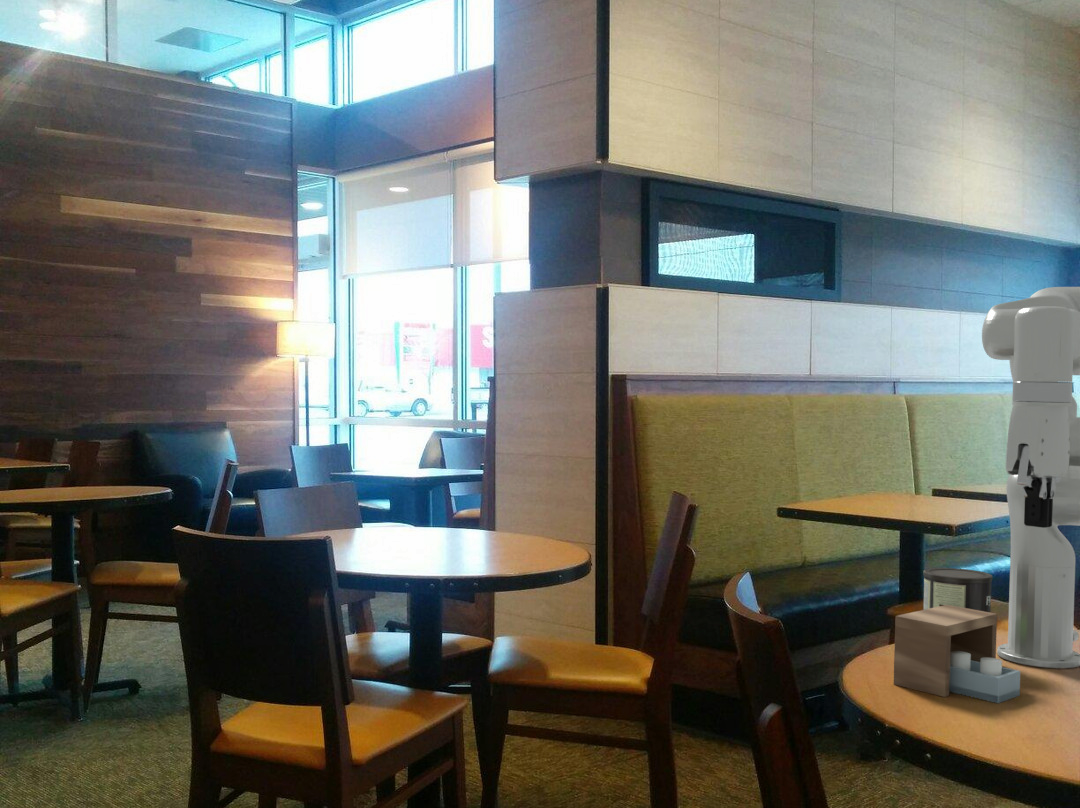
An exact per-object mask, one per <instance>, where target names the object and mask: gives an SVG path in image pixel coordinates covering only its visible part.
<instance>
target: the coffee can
mask: <svg viewBox="0 0 1080 808" xmlns="http://www.w3.org/2000/svg"><path fill="white" fill-rule="evenodd" d="M923 578H924V579H923V610H925V609H930V608H934V607H939V606H943V605H951V606H956V607H962V608H968V609H973V610H979V611H984V612H990V613H992V611H991V608H992V607H991V604H992V603H991V602H992V582H993V575H992V574H990V573H987V572H985V571H979V570H974V569H966V568H957V567H956V568H955V567H932V568H926V569H924V570H923Z"/></svg>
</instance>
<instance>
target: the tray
mask: <svg viewBox="0 0 1080 808" xmlns="http://www.w3.org/2000/svg"><path fill="white" fill-rule="evenodd" d="M1002 665H1003V660H1001V659H1000V658H989V657H984V658H981V659H980V662H977V661H972V660H971V654H970V653H967V652H963V651H951V652H950V683H949V693H952V694H957V695H961V694H962V695H961V696H965V695H966V697H969V696H971V697H970V698H973V697H975V698H974V699H977V698H979V699H978V700H981V699H983V700H982V701H985V700H987V701H986V702H990V701H991V703H994V702H995V703H994V704H1001V703H1003V702H1006V701H1008V700H1011V699H1013V698H1014V699H1015V698H1016V697H1020V695H1021V694H1020V693H1021V670H1018V669H1013V668H1009V667H1004V666H1002Z"/></svg>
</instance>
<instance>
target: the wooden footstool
mask: <svg viewBox="0 0 1080 808" xmlns="http://www.w3.org/2000/svg"><path fill="white" fill-rule="evenodd" d="M894 622H895V623H894V625H895V626H894V655H893V656H894V657H893V659H894V661H893V685H895V686H899V687H903V688H908V689H911V690H915V691H919V692H923V693H928V694H931V695H934V696H939V697H942V698H946V697H948V696H950V692H949V683H950V652H951V651H963V652H967V653H970V654H971V660H972V661H977V662H980V659H981V658H984V657H989V658H996V657H997V655H996V654H997V628H998V627H997V625H998V613H995V612H991V613H990V612H984V611H979V610H973V609H968V608H962V607H956V606H951V605H943V606H939V607H934V608H930V609H925V610H924V609H921V610H917V611H912V612H908V613H903V614H898V615H895V620H894ZM996 659H997V658H996Z"/></svg>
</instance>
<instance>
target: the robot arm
mask: <svg viewBox="0 0 1080 808" xmlns="http://www.w3.org/2000/svg"><path fill="white" fill-rule="evenodd" d="M981 341H982V346H983V349H984V351H985V354H986V355H987V356H988V357H989V358H991V359H993V360H997V361H998V360H1000V361H1009V369H1010V374H1011V379H1012V400H1011V401H1012V403H1011V404H1012V407H1011V413H1010V417H1009V422H1008V423H1009V424H1008V431H1007V443H1006V453H1005V472H1007V474H1008V477H1007V479H1006V489H1005V490H1006V500H1007V506H1008V513H1009V516H1008V517H1009V524H1010V525H1009V526H1010V556H1009V557H1010V560H1009V561H1010V562H1009V567H1010V568H1009V588H1008V589H1009V591H1008V592H1009V593H1008V594H1009V595H1008V596H1009V597H1008V622H1007V623H1008V624H1007V625H1008V629H1007V643H1003V644H1000V645H998V646H997V647H996V654H997V655H998V656H999V657H1000V658H1002V659H1004V660H1006V661H1009V662H1011V663H1012V662H1013V663H1016V664H1021V665H1025V666H1032V667H1039V668H1047V669H1048V668H1049V669H1071V668H1077V667H1078V668H1079V667H1080V653H1079V652H1078V651H1077V652H1076V651H1074V650H1073V646H1074V645H1073V644H1074V642H1076V641H1078V640H1079V638H1080V634H1079V632H1078V631H1076V630H1075V629H1074V618H1075V617H1074V614H1075V612H1074V611H1075V587H1076V586H1075V584H1076V583H1075V580H1076V553H1075V550H1074V547H1073V545H1072V544H1071V543H1070V541H1069V540H1068V539H1067V538H1066V536H1065V535H1064V534H1063V533H1062V532H1061V531H1060V529H1059V528H1058V527H1059V526H1078V527H1079V526H1080V417H1079V416H1077V415H1078V405H1077V402H1076V401H1077V400H1076V399H1075V398H1074V396H1073V376H1080V286H1055V287H1054V286H1053V287H1045V288H1042V289H1039V290H1037V291H1036V292H1034V293H1033V294H1032V295H1030V296H1029V297H1027V298H1023V299H1020V300H1014V301H1007V302H1002V303H998V304H995V305H993V306H991V308H990V309H989V310H988V311H987V314H986V316H985V318H984V320H983V324H982V329H981Z"/></svg>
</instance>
